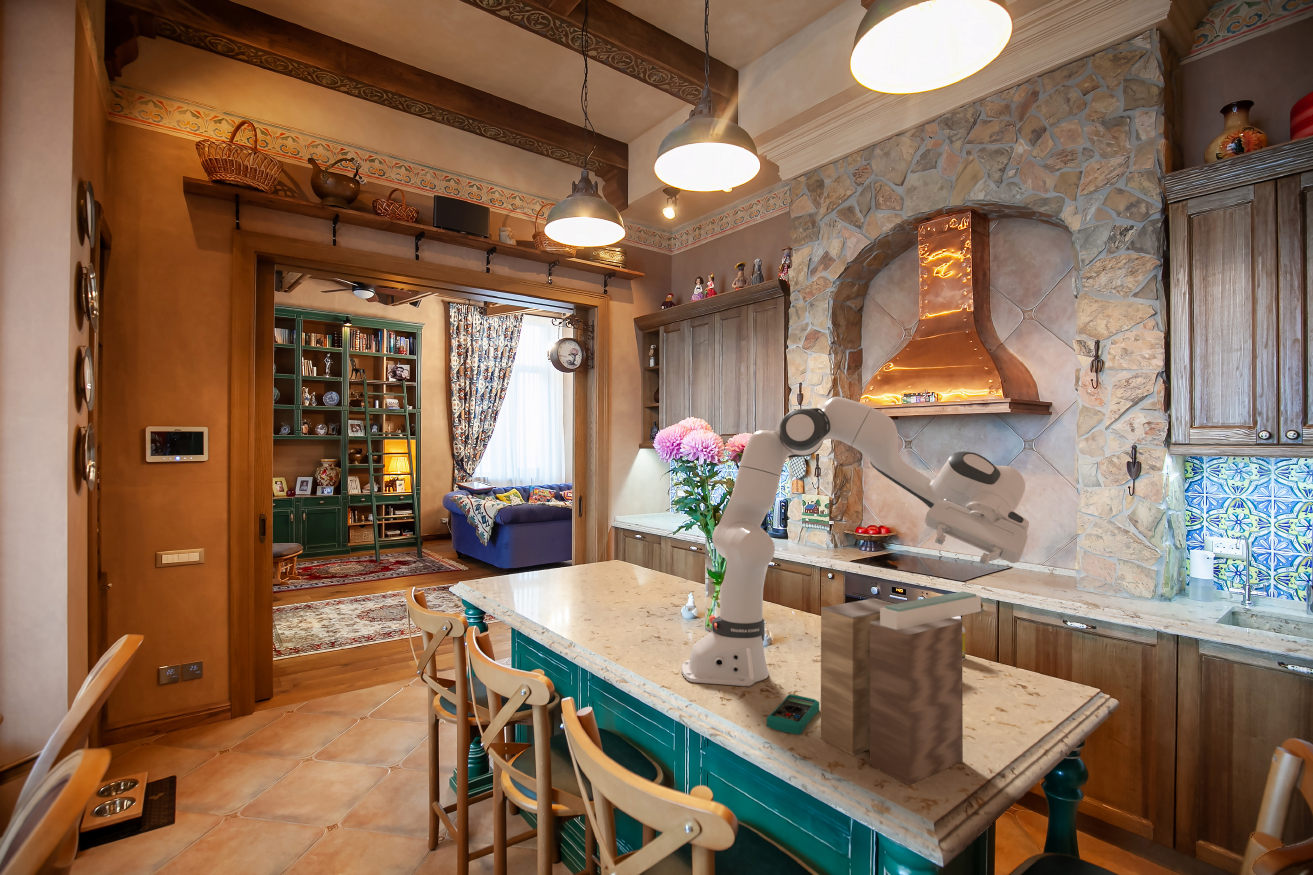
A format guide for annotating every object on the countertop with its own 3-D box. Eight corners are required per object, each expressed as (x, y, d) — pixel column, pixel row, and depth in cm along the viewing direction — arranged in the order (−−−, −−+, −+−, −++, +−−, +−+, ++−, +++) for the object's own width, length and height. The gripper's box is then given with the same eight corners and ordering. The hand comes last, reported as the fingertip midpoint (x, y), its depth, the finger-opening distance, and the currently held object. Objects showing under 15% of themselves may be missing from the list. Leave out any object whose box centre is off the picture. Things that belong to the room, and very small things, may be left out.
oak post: (873, 720, 130) (873, 598, 130) (906, 735, 123) (906, 606, 124) (820, 737, 121) (821, 607, 122) (852, 755, 115) (852, 616, 115)
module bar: (964, 607, 123) (963, 590, 124) (980, 611, 120) (980, 593, 121) (880, 624, 110) (880, 606, 110) (896, 629, 107) (896, 610, 107)
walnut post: (924, 743, 119) (923, 610, 120) (962, 761, 113) (962, 620, 113) (869, 764, 111) (870, 621, 112) (908, 785, 104) (907, 633, 105)
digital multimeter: (765, 729, 126) (765, 715, 126) (788, 704, 139) (788, 691, 139) (799, 738, 122) (799, 723, 122) (820, 711, 135) (820, 698, 135)
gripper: (941, 487, 142) (915, 520, 135) (1037, 524, 130) (1014, 563, 123) (937, 506, 146) (911, 540, 138) (1029, 545, 134) (1007, 583, 126)
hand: (960, 551), depth 130 cm, fingers open, 8 cm apart
